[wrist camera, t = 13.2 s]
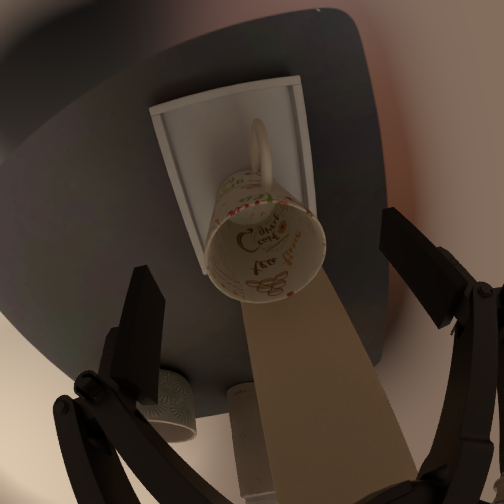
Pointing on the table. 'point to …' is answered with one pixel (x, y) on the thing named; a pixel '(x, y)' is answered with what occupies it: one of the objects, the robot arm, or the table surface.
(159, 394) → the planter
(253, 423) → the thermos bottle
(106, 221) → the table surface
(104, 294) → the table surface
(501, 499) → the robot arm
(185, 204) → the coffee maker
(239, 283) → the mug
